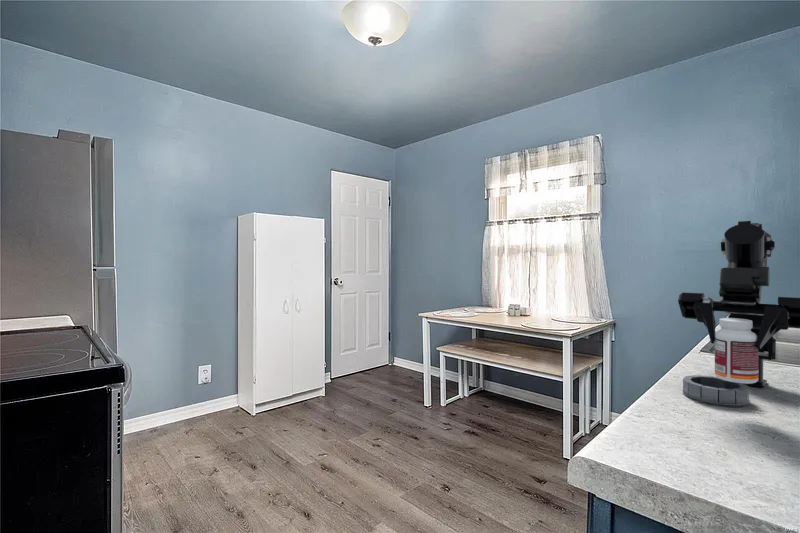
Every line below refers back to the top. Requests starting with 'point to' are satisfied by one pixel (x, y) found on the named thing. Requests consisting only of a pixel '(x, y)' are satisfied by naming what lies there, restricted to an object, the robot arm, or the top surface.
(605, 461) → the top surface
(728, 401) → the ring
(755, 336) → the pill bottle
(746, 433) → the top surface
